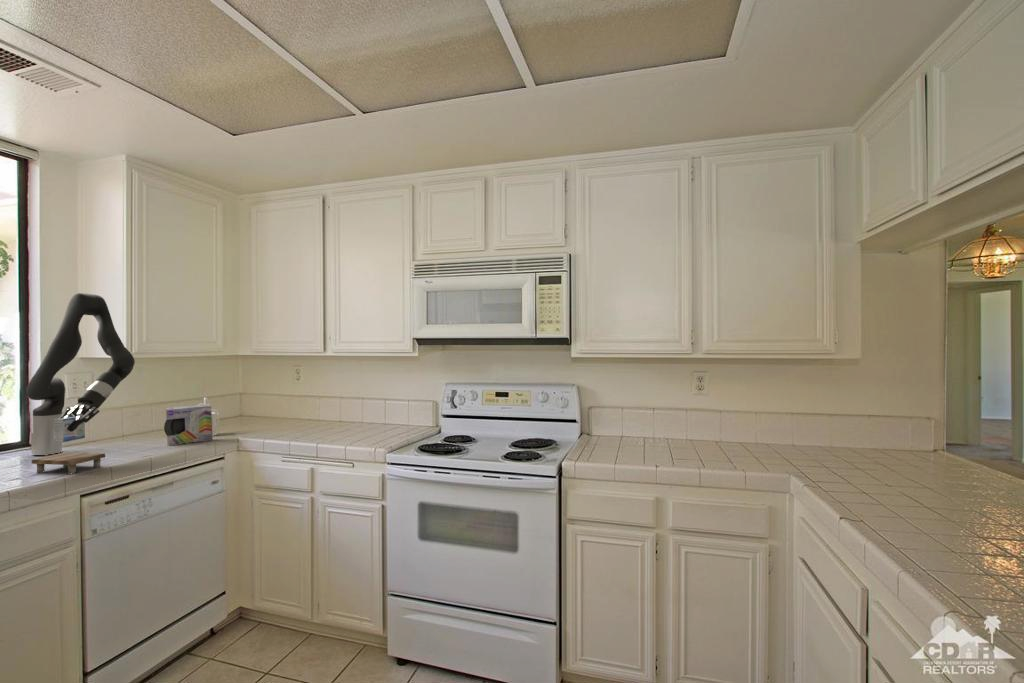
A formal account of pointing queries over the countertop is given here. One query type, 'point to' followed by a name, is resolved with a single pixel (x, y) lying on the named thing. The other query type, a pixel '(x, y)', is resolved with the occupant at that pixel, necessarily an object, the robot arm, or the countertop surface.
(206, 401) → the white french press
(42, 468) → the walnut shelf
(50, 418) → the robot arm
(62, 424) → the medicine box
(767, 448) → the countertop surface
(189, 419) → the cake pan box
